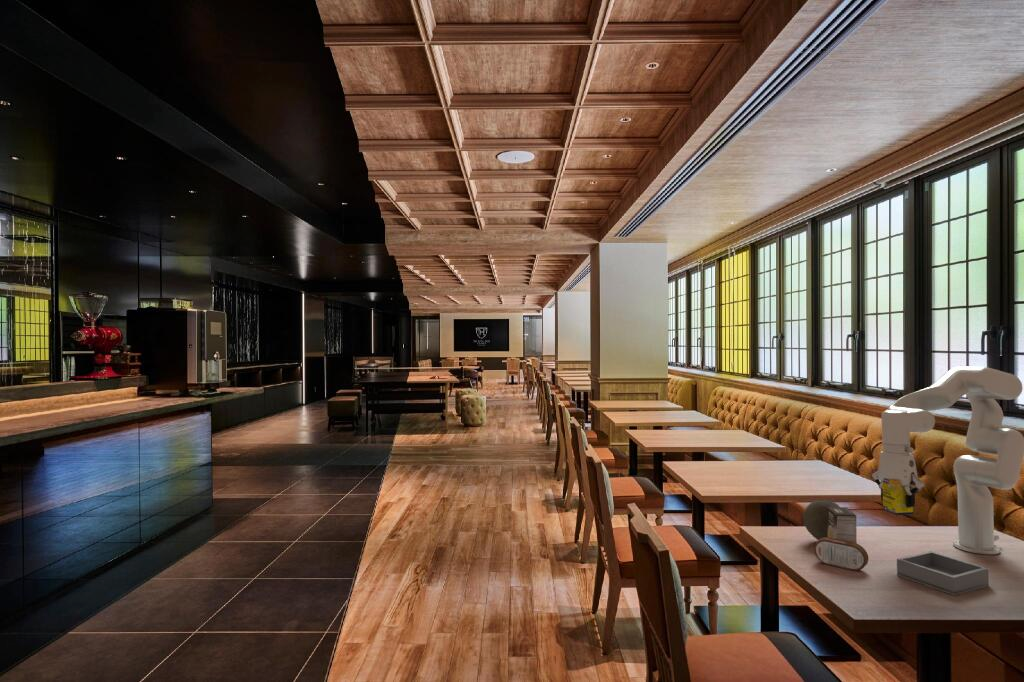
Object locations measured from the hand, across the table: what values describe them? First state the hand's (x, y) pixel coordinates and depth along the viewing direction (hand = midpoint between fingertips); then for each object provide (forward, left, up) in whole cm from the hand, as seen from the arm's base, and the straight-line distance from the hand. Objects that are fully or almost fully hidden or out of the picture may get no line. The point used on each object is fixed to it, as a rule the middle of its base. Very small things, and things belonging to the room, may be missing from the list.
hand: (897, 503), depth 190 cm
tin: (+20, -5, -19) cm, 28 cm away
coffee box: (+14, -9, -19) cm, 26 cm away
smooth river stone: (+5, -22, -19) cm, 30 cm away
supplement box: (0, 0, -3) cm, 3 cm away
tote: (+3, +15, -19) cm, 24 cm away
